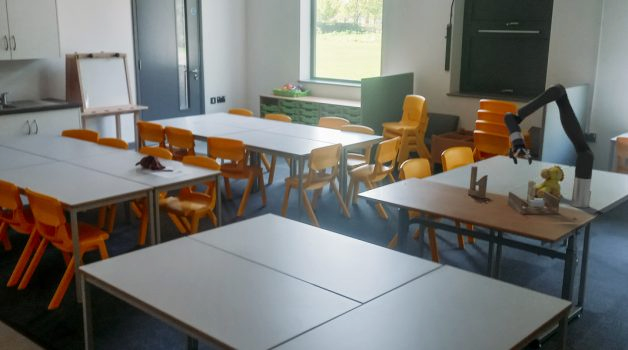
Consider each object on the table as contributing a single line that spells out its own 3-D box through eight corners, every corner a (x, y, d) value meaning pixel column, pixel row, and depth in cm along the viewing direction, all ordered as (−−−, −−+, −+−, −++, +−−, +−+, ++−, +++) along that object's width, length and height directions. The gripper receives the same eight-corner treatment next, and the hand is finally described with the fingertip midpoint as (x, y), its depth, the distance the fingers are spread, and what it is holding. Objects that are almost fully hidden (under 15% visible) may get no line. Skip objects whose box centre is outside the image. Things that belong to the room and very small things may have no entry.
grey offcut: (541, 205, 372) (542, 199, 372) (544, 206, 370) (544, 201, 369) (528, 205, 372) (528, 199, 371) (530, 206, 369) (530, 201, 368)
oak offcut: (541, 210, 373) (541, 205, 372) (543, 211, 370) (544, 206, 370) (527, 210, 372) (528, 205, 372) (529, 211, 369) (530, 206, 369)
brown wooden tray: (543, 206, 385) (545, 191, 383) (557, 215, 368) (559, 199, 366) (507, 206, 383) (509, 191, 381) (520, 215, 366) (521, 199, 363)
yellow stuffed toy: (523, 192, 418) (526, 163, 414) (556, 191, 424) (559, 162, 420) (542, 201, 399) (545, 170, 394) (576, 199, 405) (580, 169, 400)
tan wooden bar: (530, 206, 381) (532, 180, 378) (533, 208, 377) (535, 182, 374) (525, 206, 381) (528, 180, 377) (528, 208, 377) (531, 182, 374)
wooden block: (482, 198, 400) (484, 169, 396) (467, 194, 408) (470, 166, 404) (485, 197, 402) (488, 168, 398) (471, 193, 410) (473, 165, 406)
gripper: (508, 137, 392) (514, 160, 384) (531, 137, 394) (537, 160, 385) (504, 144, 399) (509, 167, 390) (526, 144, 400) (532, 167, 392)
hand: (523, 163), depth 388 cm, fingers open, 8 cm apart
